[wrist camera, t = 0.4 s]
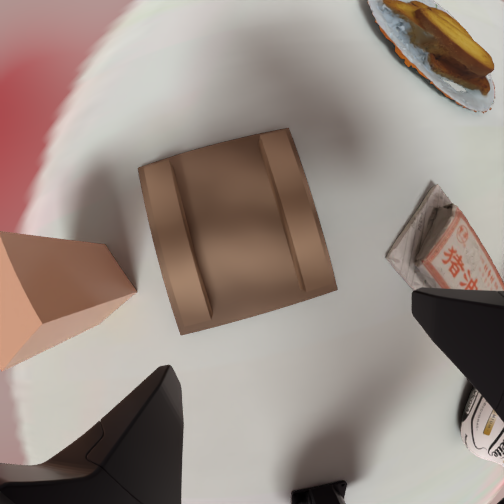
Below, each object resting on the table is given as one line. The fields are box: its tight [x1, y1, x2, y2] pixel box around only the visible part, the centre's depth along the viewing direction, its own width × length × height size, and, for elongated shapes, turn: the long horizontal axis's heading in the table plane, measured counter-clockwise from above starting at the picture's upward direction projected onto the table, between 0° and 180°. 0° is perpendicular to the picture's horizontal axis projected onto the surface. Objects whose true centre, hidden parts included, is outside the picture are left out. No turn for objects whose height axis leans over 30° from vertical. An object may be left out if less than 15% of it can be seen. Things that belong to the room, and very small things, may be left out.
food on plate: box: [368, 0, 495, 113], centre depth 22 cm, size 25×25×7 cm
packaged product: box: [386, 184, 504, 291], centre depth 22 cm, size 18×5×10 cm
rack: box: [138, 128, 338, 335], centre depth 21 cm, size 14×13×3 cm
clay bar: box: [0, 231, 137, 371], centre depth 15 cm, size 5×5×13 cm
